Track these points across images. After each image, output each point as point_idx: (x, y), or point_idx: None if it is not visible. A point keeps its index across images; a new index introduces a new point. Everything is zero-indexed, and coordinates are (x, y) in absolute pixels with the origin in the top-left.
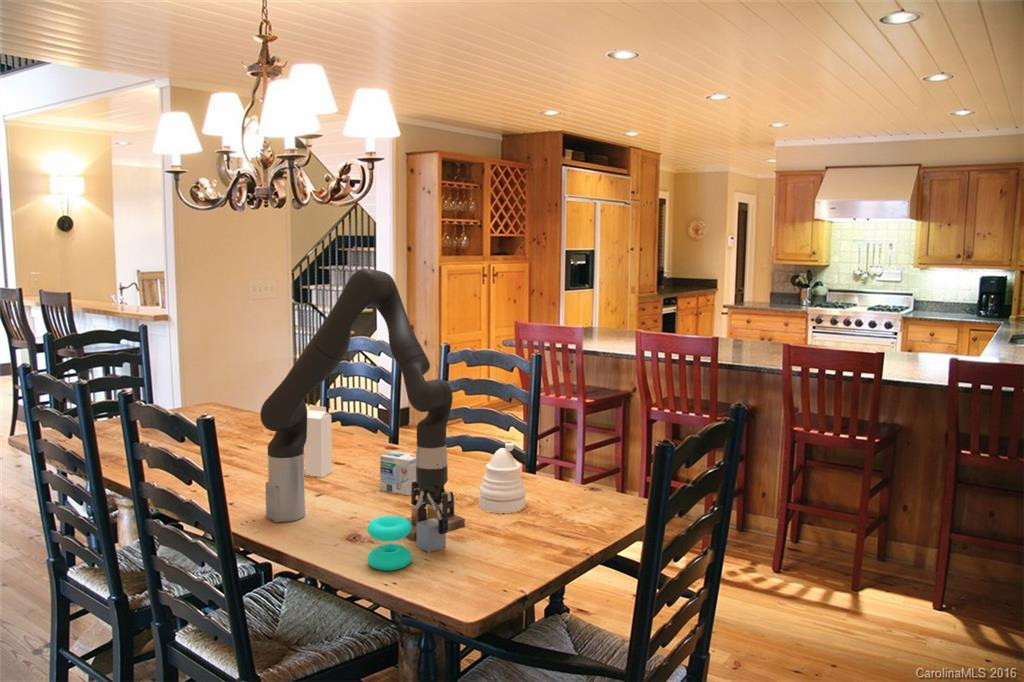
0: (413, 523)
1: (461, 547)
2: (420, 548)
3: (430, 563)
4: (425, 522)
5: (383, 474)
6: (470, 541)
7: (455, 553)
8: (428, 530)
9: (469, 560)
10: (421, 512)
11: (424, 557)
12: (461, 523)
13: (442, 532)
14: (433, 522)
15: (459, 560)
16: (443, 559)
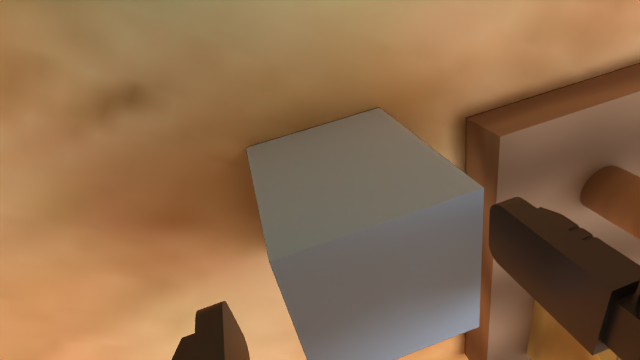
0: (606, 177)
1: (251, 317)
2: (337, 120)
3: (25, 101)
4: (433, 261)
5: None
6: (305, 356)
7: (176, 281)
8: (269, 244)
9: (36, 327)
10: (580, 292)
11: (170, 96)
12: (475, 358)
13: (186, 337)
14: (393, 317)
15: (49, 283)
16: (92, 204)
